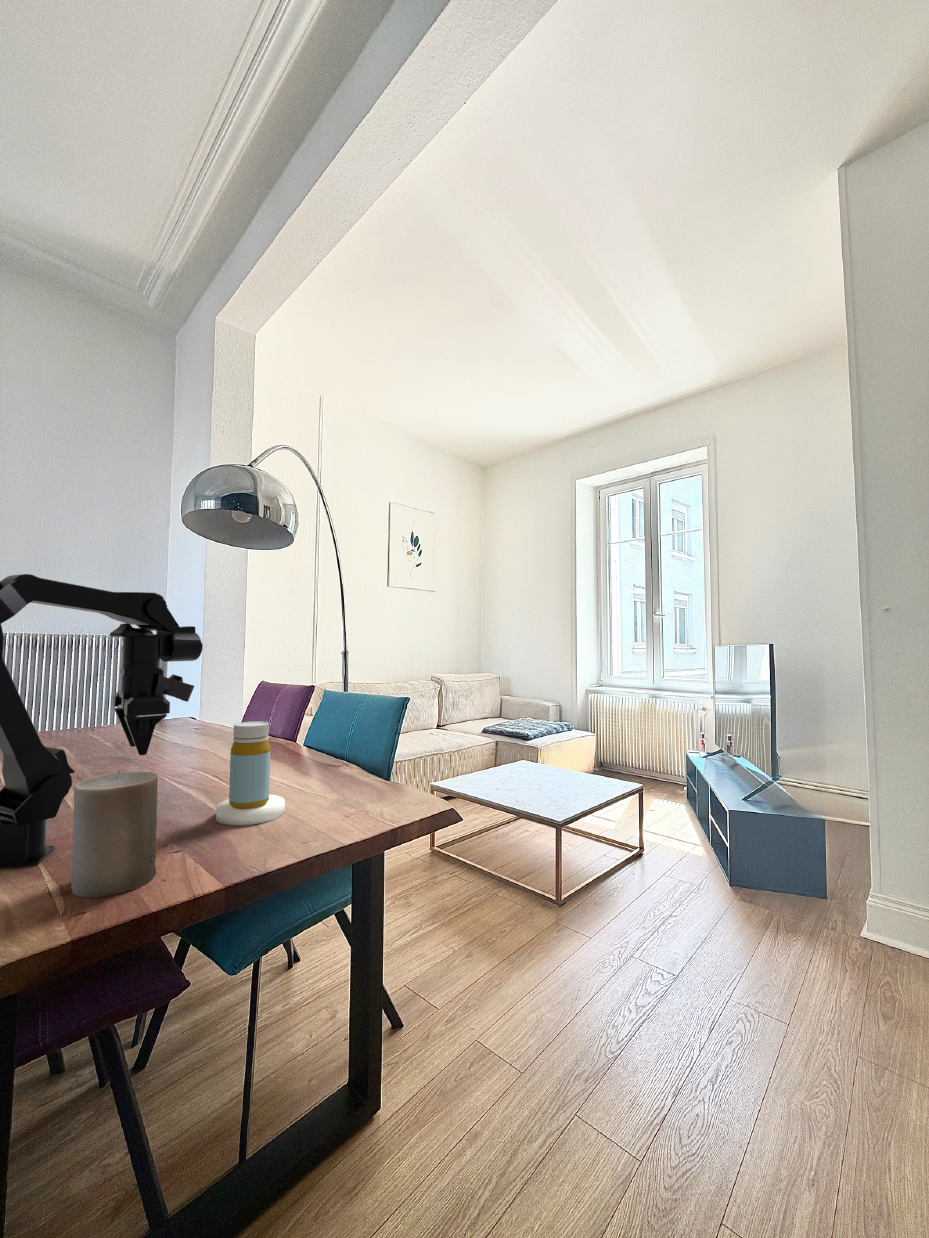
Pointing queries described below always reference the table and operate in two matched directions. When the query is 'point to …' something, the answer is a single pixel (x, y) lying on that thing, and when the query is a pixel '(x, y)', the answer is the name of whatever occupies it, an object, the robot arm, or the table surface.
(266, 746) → the bottle
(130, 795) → the pillar candle
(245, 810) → the round base
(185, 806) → the table surface
